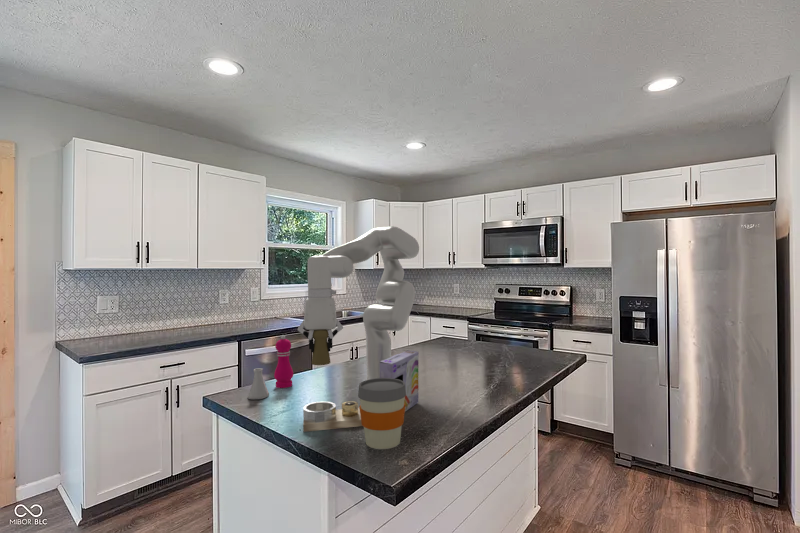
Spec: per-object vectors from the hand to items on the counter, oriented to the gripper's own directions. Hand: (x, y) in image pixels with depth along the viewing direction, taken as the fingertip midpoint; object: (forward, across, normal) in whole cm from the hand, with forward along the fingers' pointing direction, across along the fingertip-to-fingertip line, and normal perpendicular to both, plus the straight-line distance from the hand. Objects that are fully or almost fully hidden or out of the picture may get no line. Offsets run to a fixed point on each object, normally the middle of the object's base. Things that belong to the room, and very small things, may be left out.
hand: (320, 350), depth 130 cm
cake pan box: (+20, -24, +7) cm, 32 cm away
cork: (+4, 0, 0) cm, 4 cm away
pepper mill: (+19, +14, -33) cm, 41 cm away
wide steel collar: (+17, +1, +11) cm, 20 cm away
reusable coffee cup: (+20, -15, +28) cm, 37 cm away
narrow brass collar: (+17, -8, +11) cm, 22 cm away
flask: (+20, +22, -21) cm, 36 cm away
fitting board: (+19, -4, +11) cm, 23 cm away
